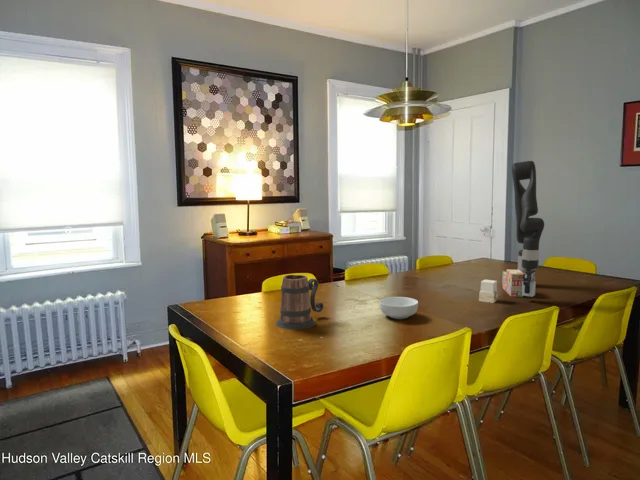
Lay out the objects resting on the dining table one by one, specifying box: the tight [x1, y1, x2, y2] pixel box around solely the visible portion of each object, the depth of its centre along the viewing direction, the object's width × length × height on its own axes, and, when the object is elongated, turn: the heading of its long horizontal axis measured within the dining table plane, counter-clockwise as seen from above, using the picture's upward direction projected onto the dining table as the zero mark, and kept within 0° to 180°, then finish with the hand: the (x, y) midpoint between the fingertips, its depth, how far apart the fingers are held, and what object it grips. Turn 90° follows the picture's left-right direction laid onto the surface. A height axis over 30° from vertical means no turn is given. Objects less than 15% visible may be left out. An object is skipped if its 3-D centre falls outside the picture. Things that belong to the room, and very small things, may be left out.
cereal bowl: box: [379, 296, 419, 320], centre depth 200 cm, size 17×17×7 cm
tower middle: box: [480, 279, 498, 293], centre depth 226 cm, size 6×6×5 cm
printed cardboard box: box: [501, 268, 524, 298], centre depth 244 cm, size 21×6×12 cm, turn 170°
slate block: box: [522, 280, 537, 298], centre depth 224 cm, size 5×5×7 cm
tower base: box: [478, 290, 499, 304], centre depth 227 cm, size 7×7×5 cm
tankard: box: [275, 274, 324, 331], centre depth 192 cm, size 24×17×20 cm
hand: (528, 291), depth 225 cm, fingers closed on slate block, 5 cm apart
